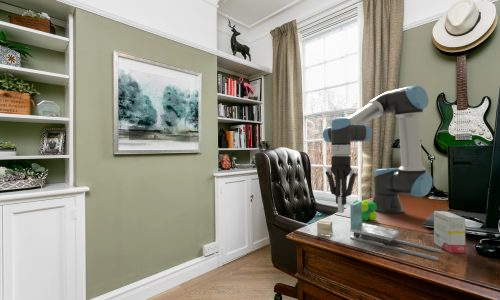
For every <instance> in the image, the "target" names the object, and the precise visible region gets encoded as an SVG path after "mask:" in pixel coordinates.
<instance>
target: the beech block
mask: <svg viewBox="0 0 500 300" xmlns="http://www.w3.org/2000/svg"><path fill="white" fill-rule="evenodd" d="M316 225H317V226H316V229H317V230H316V235H317V234H323V235H331V236H332V234H333V220H327V219H320V218H319V220H318V221H317V222H316ZM331 233H332V234H331Z"/></svg>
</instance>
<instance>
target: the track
mask: <svg viewBox="0 0 500 300" xmlns="http://www.w3.org/2000/svg"><path fill="white" fill-rule="evenodd" d="M362 235H363V236H364V234H362ZM371 237H373V236H371ZM350 238H351V239H352V240H354V239H355V240H354V241H358V240H359V241H360V242H362V241H363V243H366V244H370V245H374V246H379V247H381V246H382V248H386V249H390V250H393V251H397V252H401V253H406V254H409V255H414V256H418V257H421V258H425V259H429V260H432V261H436V262H438V261H439V257H438V256H435V255H429V254H428V253H427V254H426V253H422V252H419V251H414V250H410V249H406V248H402V247H397V246H394V245H390V244H388V245H384V244H383V243H382V242H378V241H375V240H370V239H366V238H363V237H362V238H361V237H358V238H356V237H354V235H350V236H349V239H350ZM373 238H374V237H373ZM375 238H376V239H378V238H377V237H375ZM379 239H381V238H379ZM381 240H382V239H381ZM389 241H390V240H389ZM390 242H394V243H397V244H402V245H406V246H411V247H416V248H419V249H423V250H428V251H432V252H435V253H442V249H440V248H436V247H432V246H428V245H423V244H419V243H414V242H410V241H406V240H402V239H396V238H394V239H393V240H392V241H390Z"/></svg>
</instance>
